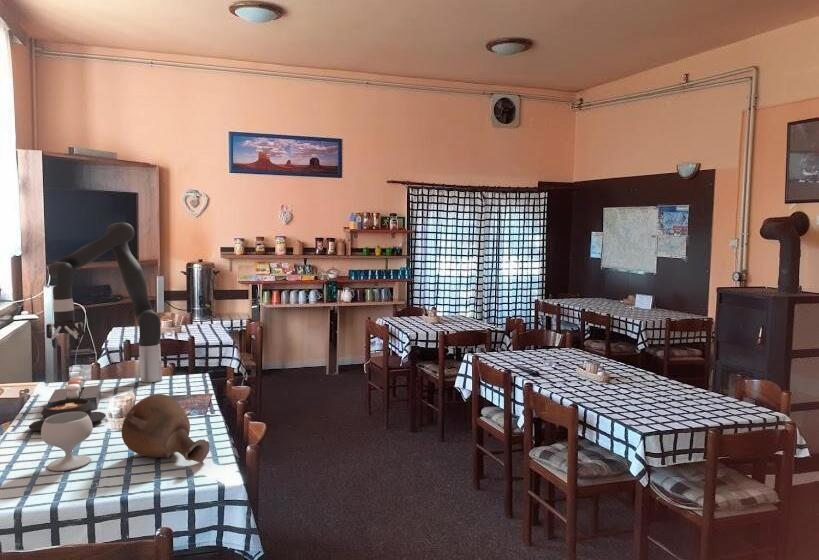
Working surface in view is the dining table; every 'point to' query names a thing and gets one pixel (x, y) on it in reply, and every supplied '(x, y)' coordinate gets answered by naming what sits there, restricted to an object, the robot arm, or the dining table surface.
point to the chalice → (67, 438)
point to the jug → (161, 430)
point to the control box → (80, 395)
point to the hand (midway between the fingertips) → (66, 347)
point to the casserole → (67, 410)
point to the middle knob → (76, 383)
